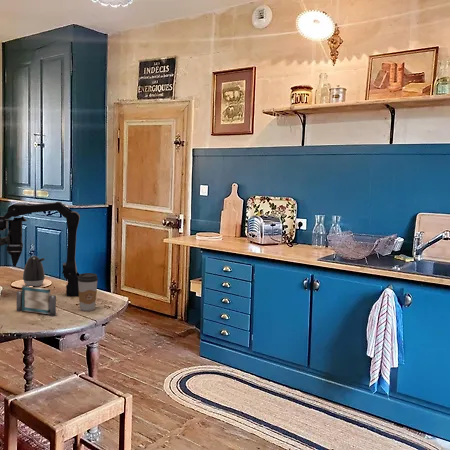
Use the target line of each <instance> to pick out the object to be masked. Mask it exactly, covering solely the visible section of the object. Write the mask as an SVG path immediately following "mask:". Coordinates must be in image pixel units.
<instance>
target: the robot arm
mask: <svg viewBox="0 0 450 450" xmlns="http://www.w3.org/2000/svg"><path fill="white" fill-rule="evenodd" d="M54 211H56V212H58V213H59V215H61V216H62V217H64V218H65V219H66V225H67V232H68V234H67V249H66V253H67V254H66V262H63V264H62V273H61V274H63V278H64V279H65V280H67V284H66V287H65V290H66V291H65V292H66V293H65V294H66V297H79V286H78V277H79V275H80V274H81V273H80V272H78V267H77V262H76V254H77V253H76V251H77V232H78V227H79V224H80V220H81V214H80V213H79V212H78V211H76V210H75V211H74V210H72V209H70V208H69V207H68V206H66V205H65V204H63V203H62V202H61V201H56V202H45V203H35V204H32V203H31V204H28V203H18V202H17V203H13V204H11V205H9V206H8V207H7V212H6V213H5V214H4V215H0V232H5V231H6V229H7V230H8V231H7V232H8V233H7V235H6V236H4V237H1V236H0V247H1V246H4V245H7V246H6V253H8V254H9V255H10V258H11V263H12V267H16V266H17V264H18V261H19V260H20V258H21V256H22V253H23V248H24V247H23V246H24V243H23V222H27V221H28V219H26V218H25V215H27V214H28V215H29V214H33V213H42V212H54ZM11 218H13V219H11Z"/></svg>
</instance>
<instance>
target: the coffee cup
mask: <svg viewBox="0 0 450 450" xmlns="http://www.w3.org/2000/svg"><path fill="white" fill-rule="evenodd" d="M79 274H80V275H79V277H78V286H79V296H78V300H79V301H78V303H79V304H78V305H79V309H80V310H81V311H84V312H89V311H90V310H91V311H95V308H96V301H97V291H98V290H97V289H98V281H99V279H98V278H99V277H98V275H97V274H96V273H93V272H92V273H91V272H85V273H79ZM91 311H90V312H91Z"/></svg>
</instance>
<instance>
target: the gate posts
mask: <svg viewBox="0 0 450 450" xmlns="http://www.w3.org/2000/svg"><path fill="white" fill-rule="evenodd" d="M56 309H57V296H56V294H55V295H54V294H52V295H51V294H50V313H49V316H50V317H55V316H56V315H57V310H56ZM16 312H23V311H22V290H18V291H16Z"/></svg>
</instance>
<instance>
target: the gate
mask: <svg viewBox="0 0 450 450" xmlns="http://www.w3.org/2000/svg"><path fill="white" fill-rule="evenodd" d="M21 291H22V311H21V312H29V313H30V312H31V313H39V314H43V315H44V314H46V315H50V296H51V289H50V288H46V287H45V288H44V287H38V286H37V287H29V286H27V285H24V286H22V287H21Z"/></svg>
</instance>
